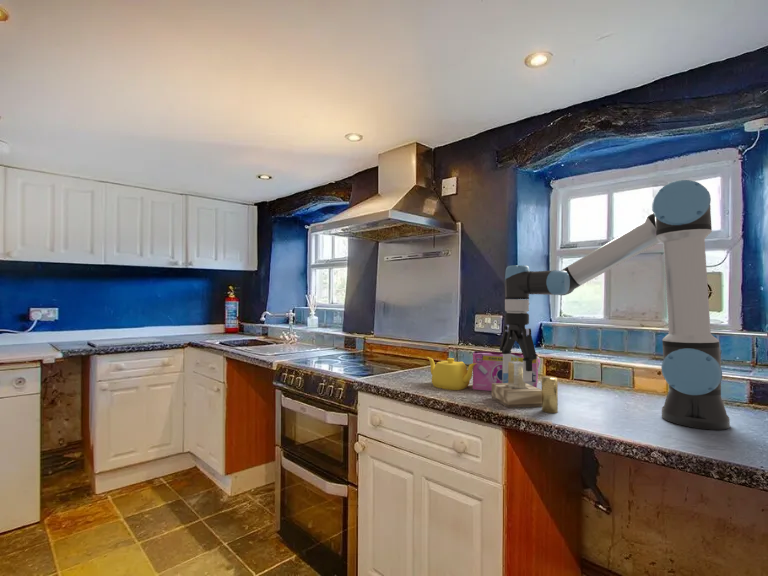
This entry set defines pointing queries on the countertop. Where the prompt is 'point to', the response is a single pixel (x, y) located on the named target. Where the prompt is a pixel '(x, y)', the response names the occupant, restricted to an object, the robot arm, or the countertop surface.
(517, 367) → the square bit
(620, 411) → the countertop surface
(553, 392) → the round bit
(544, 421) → the countertop surface
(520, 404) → the bore block
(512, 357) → the gum box
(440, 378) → the teapot
